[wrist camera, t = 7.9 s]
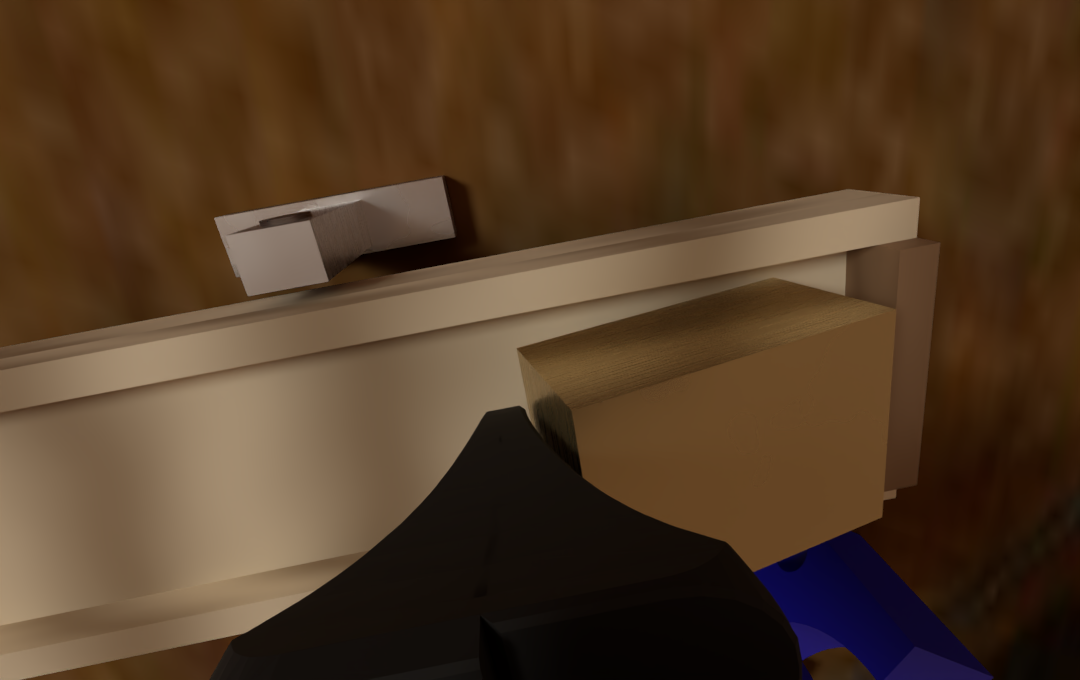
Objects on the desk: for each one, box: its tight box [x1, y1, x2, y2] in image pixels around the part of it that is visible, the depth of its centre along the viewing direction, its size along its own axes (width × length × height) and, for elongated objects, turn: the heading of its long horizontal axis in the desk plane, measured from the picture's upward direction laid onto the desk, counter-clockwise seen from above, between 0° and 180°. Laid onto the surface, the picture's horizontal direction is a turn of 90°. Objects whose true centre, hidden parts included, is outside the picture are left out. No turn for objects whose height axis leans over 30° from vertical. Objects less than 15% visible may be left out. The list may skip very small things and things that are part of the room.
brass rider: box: [516, 277, 896, 572], centre depth 11 cm, size 6×4×3 cm
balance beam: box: [0, 189, 940, 680], centre depth 12 cm, size 25×7×3 cm, turn 100°
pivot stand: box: [214, 175, 457, 296], centre depth 14 cm, size 6×11×5 cm, turn 10°
